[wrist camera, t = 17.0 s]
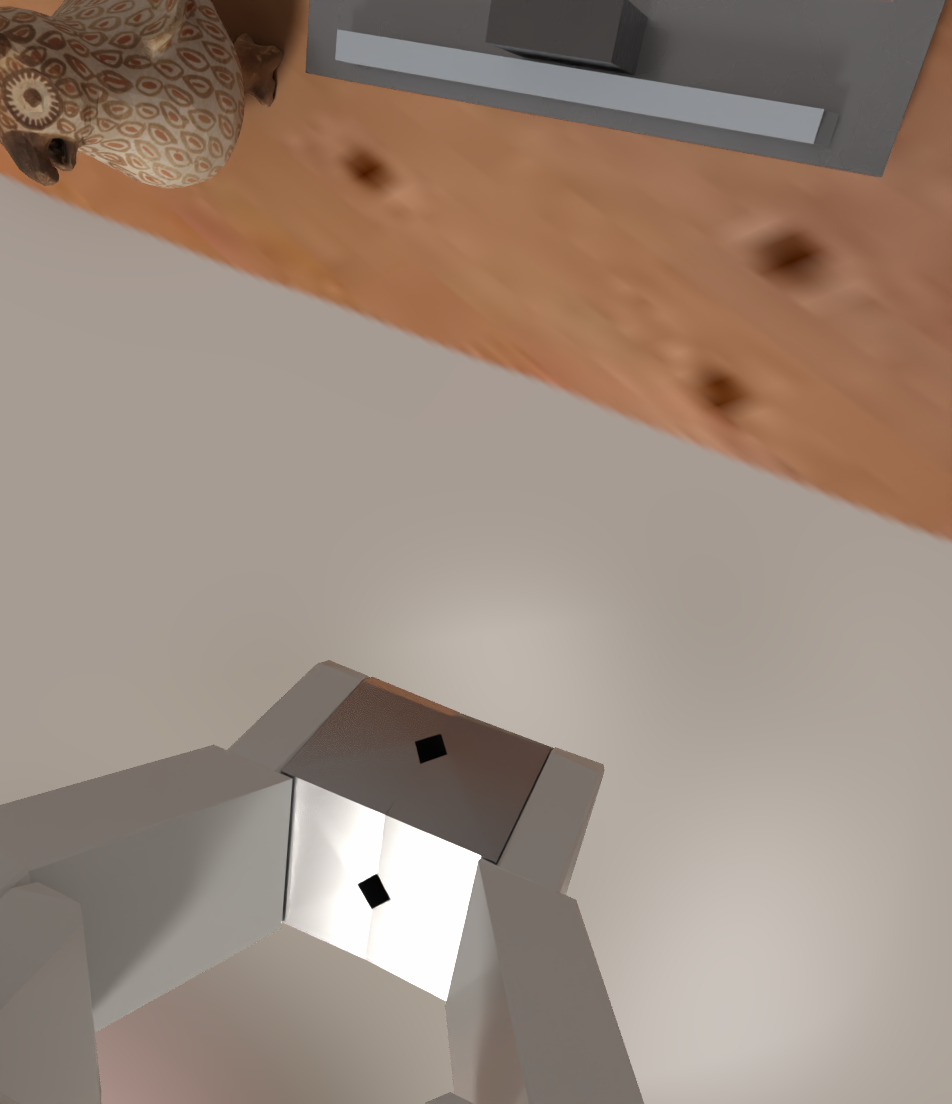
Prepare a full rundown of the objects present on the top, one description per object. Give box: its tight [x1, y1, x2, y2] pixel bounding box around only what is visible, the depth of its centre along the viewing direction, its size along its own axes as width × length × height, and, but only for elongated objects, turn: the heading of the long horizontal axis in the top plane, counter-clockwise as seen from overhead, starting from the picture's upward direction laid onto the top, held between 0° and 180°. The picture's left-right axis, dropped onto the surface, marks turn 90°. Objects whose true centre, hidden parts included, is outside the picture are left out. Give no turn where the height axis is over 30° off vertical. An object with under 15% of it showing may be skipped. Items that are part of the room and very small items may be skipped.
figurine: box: [0, 0, 283, 188], centre depth 32 cm, size 9×10×15 cm
